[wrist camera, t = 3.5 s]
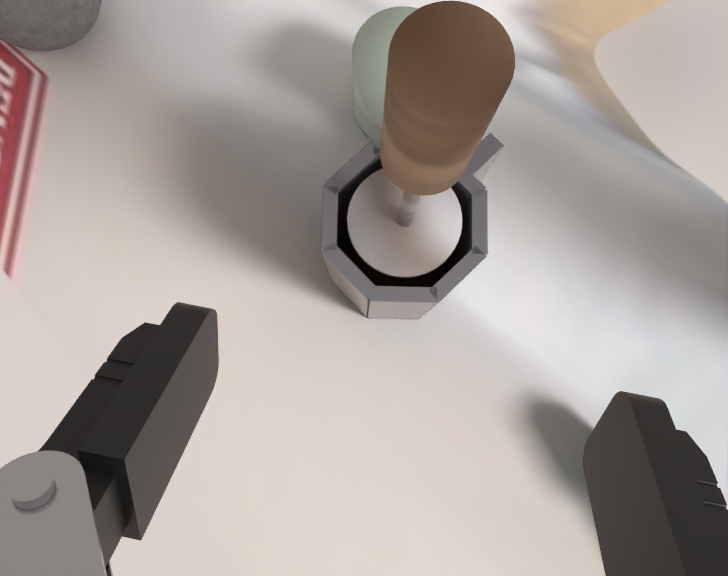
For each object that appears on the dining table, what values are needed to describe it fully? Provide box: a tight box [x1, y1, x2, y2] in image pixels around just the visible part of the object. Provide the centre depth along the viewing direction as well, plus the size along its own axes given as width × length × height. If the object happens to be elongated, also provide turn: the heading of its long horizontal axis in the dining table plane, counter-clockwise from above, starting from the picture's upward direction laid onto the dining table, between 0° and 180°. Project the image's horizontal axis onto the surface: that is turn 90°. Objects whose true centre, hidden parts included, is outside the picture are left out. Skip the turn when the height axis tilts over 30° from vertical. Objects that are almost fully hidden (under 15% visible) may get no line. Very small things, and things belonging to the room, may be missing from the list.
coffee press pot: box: [321, 133, 503, 319], centre depth 39 cm, size 13×10×12 cm
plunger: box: [347, 1, 515, 278], centre depth 25 cm, size 7×7×18 cm
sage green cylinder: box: [352, 7, 417, 141], centre depth 42 cm, size 7×7×8 cm
